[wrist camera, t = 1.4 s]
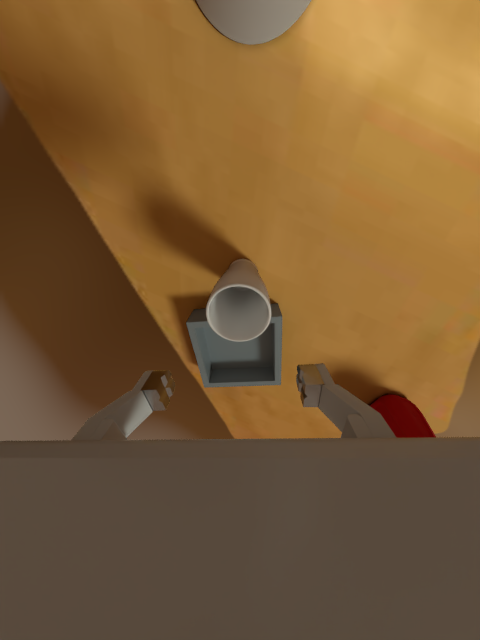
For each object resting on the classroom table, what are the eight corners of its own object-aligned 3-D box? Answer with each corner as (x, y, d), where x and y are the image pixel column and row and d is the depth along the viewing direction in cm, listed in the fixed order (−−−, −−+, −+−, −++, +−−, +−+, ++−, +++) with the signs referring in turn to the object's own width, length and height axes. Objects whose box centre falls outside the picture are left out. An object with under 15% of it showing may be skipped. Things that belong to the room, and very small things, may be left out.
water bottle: (421, 395, 44) (589, 569, 22) (386, 419, 49) (495, 579, 28) (391, 384, 43) (539, 558, 21) (358, 410, 48) (450, 571, 26)
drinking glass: (217, 283, 32) (195, 328, 19) (232, 246, 29) (218, 270, 16) (251, 298, 33) (253, 351, 20) (269, 264, 30) (285, 300, 17)
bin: (193, 309, 35) (186, 322, 31) (277, 303, 33) (282, 316, 29) (208, 369, 43) (204, 387, 38) (277, 367, 41) (280, 384, 37)
